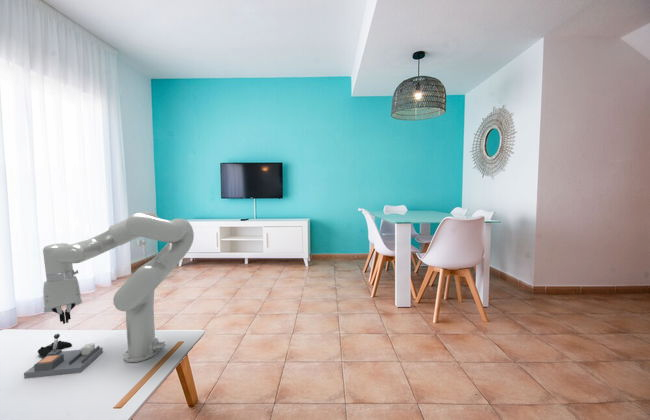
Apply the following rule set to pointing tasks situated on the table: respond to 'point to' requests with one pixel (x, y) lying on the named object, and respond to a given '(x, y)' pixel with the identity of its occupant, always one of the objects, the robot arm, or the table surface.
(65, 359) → the control panel
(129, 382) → the table surface
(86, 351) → the slide switch
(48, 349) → the game controller
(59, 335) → the toggle lever
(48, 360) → the push button
